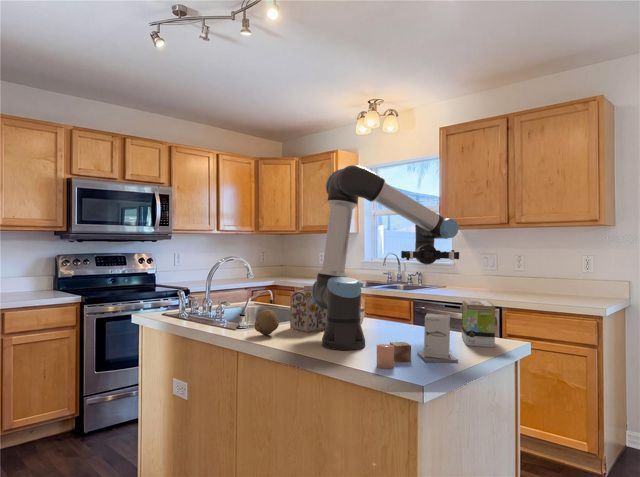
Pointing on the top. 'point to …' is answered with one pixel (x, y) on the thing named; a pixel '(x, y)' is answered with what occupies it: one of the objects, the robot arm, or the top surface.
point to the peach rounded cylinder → (385, 356)
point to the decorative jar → (306, 312)
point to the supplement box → (437, 336)
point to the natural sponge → (266, 322)
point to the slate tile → (432, 359)
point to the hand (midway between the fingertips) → (432, 255)
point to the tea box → (478, 323)
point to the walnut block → (401, 351)
